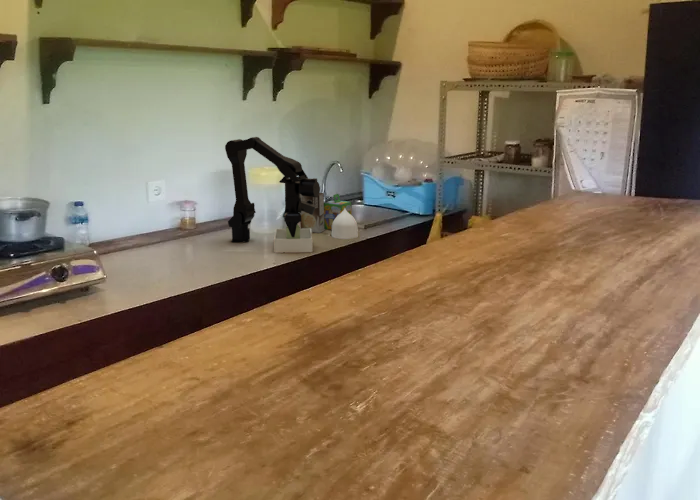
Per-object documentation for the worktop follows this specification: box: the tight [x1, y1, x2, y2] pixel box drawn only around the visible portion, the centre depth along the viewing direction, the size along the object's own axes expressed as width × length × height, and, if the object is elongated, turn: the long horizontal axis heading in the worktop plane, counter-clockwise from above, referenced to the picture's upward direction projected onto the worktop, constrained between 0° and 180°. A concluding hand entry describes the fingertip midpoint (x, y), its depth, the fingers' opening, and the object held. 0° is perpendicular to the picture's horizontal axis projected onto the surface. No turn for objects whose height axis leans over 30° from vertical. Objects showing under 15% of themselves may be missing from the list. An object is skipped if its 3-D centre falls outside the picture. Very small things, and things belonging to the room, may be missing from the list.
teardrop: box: [331, 208, 359, 240], centre depth 278 cm, size 11×11×12 cm
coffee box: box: [299, 192, 326, 234], centre depth 286 cm, size 9×6×16 cm
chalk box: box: [324, 193, 353, 231], centre depth 291 cm, size 9×9×15 cm
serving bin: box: [273, 228, 313, 254], centre depth 261 cm, size 14×17×5 cm
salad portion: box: [285, 223, 301, 239], centre depth 260 cm, size 5×5×6 cm
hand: (293, 235), depth 260 cm, fingers closed on salad portion, 5 cm apart
